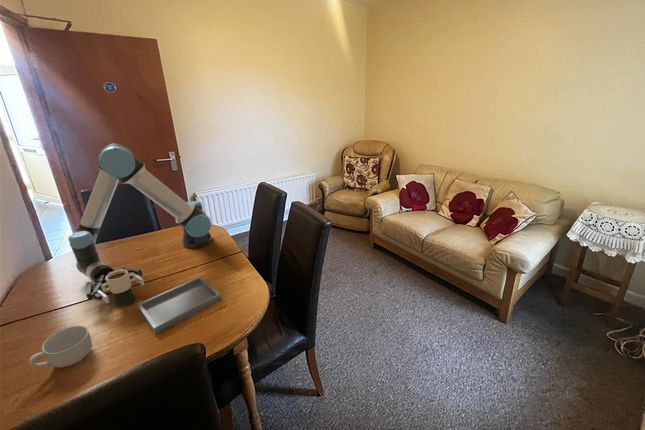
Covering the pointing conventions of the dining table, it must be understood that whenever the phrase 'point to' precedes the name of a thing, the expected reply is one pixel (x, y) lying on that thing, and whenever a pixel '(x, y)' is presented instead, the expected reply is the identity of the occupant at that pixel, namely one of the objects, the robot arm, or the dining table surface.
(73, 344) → the teacup
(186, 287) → the tray
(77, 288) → the dining table surface
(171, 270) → the dining table surface
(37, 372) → the dining table surface
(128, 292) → the character mug
